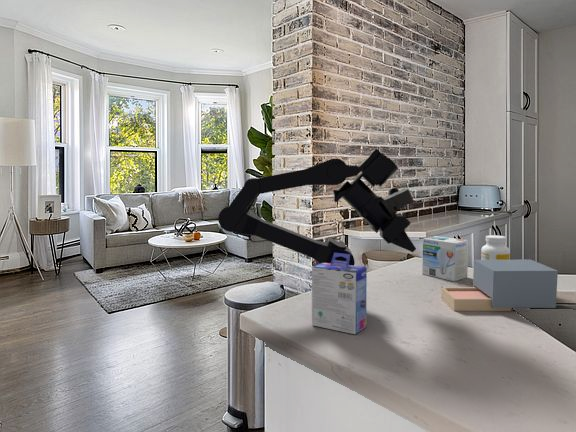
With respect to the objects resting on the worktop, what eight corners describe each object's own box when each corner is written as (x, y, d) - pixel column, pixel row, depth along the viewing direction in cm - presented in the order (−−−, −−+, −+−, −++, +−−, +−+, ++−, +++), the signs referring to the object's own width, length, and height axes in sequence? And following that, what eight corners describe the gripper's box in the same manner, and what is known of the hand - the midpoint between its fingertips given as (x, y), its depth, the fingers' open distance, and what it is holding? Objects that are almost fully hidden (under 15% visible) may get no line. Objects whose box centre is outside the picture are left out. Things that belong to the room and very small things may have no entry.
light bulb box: (421, 274, 120) (421, 238, 119) (434, 270, 124) (435, 235, 123) (455, 281, 111) (456, 242, 110) (468, 277, 115) (469, 239, 114)
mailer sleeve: (492, 307, 87) (493, 271, 86) (472, 292, 98) (473, 259, 97) (555, 307, 87) (557, 270, 86) (529, 292, 97) (530, 259, 96)
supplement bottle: (511, 284, 108) (513, 236, 106) (504, 290, 103) (506, 239, 102) (485, 280, 112) (486, 233, 111) (476, 285, 108) (478, 237, 106)
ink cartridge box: (368, 326, 81) (368, 254, 80) (357, 336, 77) (356, 260, 75) (324, 317, 87) (323, 250, 85) (311, 326, 82) (309, 255, 80)
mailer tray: (453, 310, 89) (454, 299, 89) (441, 297, 98) (441, 287, 98) (511, 310, 88) (511, 299, 88) (493, 297, 97) (493, 287, 97)
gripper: (400, 176, 82) (455, 231, 82) (383, 175, 100) (428, 220, 101) (360, 216, 83) (414, 269, 84) (351, 208, 102) (395, 252, 102)
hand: (414, 250), depth 92 cm, fingers closed
